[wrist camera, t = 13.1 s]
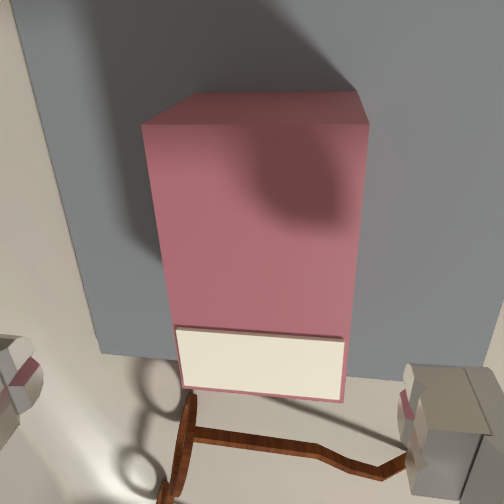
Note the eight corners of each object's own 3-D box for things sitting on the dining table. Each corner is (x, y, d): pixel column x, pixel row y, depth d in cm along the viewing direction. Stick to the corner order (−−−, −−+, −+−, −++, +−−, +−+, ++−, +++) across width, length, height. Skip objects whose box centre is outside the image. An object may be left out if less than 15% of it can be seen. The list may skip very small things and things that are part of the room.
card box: (195, 92, 15) (138, 125, 10) (357, 90, 14) (370, 125, 10) (215, 304, 19) (181, 391, 15) (339, 312, 18) (343, 407, 14)
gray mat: (106, 345, 22) (101, 353, 22) (17, -14, 15) (6, -15, 14) (471, 378, 20) (475, 388, 19) (598, -39, 12) (610, -41, 12)
